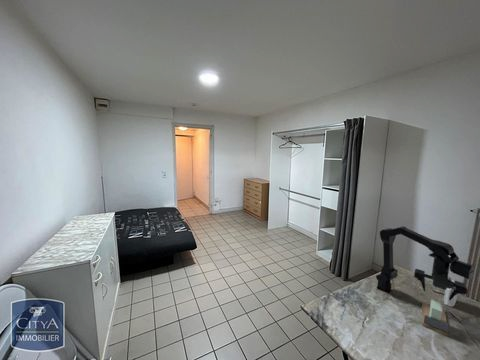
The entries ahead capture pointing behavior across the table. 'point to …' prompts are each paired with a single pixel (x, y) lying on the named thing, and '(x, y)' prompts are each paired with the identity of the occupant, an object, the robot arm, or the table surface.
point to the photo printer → (446, 298)
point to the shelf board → (426, 312)
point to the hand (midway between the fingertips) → (436, 295)
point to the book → (435, 310)
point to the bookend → (435, 323)
